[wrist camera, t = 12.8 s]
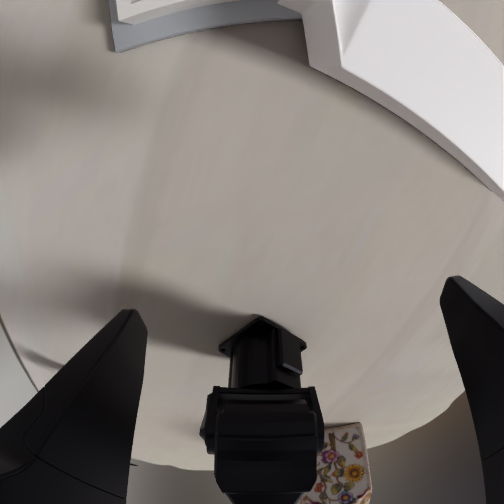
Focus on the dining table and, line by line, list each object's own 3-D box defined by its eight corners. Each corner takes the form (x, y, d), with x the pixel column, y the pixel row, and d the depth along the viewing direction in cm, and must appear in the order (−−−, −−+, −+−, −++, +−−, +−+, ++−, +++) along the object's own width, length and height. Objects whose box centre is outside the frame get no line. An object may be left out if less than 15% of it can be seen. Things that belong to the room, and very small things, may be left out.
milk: (535, 230, 14) (262, 36, 9) (492, 192, 19) (255, 47, 14) (568, 166, 11) (320, -73, 5) (520, 137, 16) (295, -34, 10)
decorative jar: (354, 440, 49) (364, 516, 34) (298, 448, 50) (301, 526, 35) (362, 420, 42) (377, 513, 27) (296, 430, 43) (300, 525, 29)
